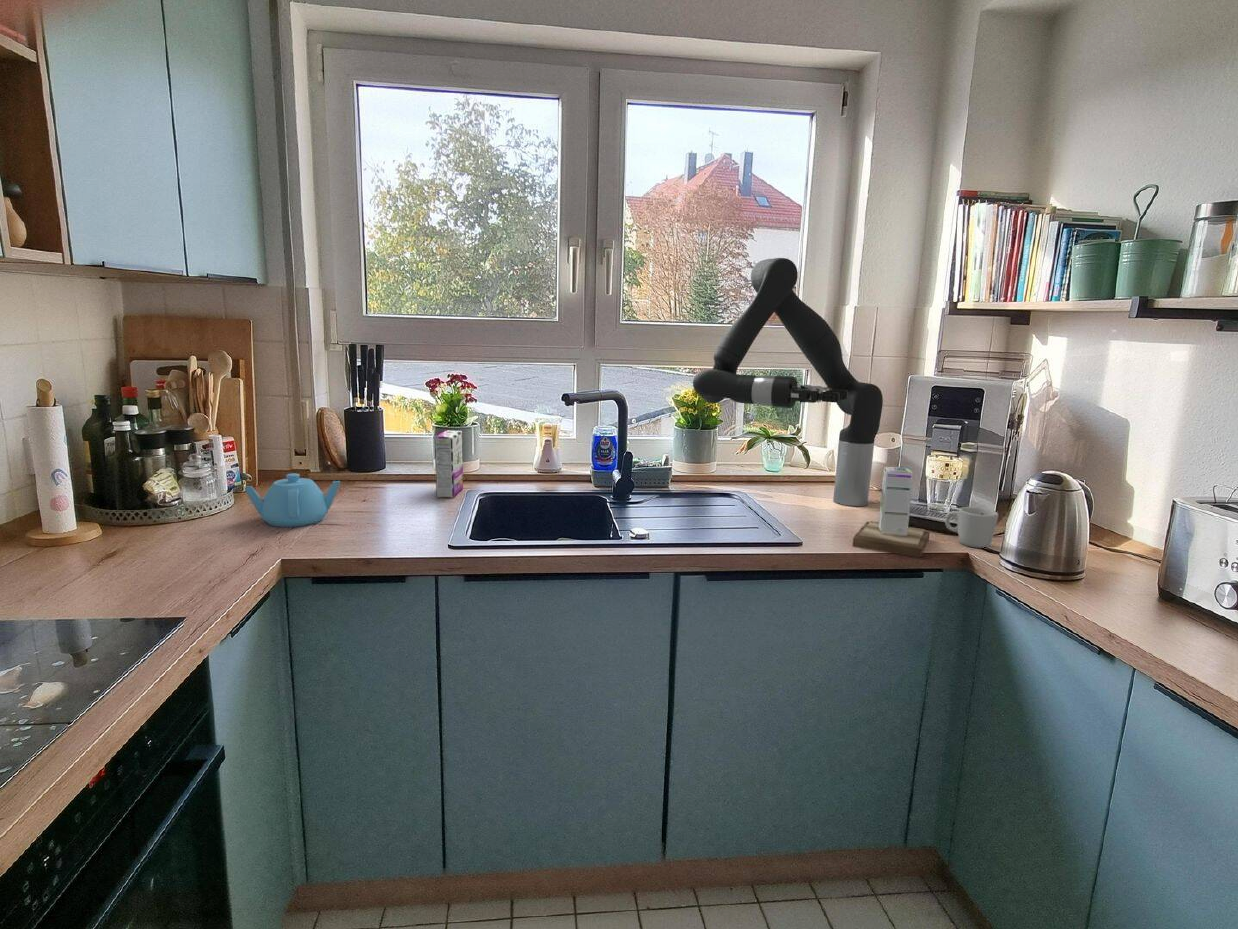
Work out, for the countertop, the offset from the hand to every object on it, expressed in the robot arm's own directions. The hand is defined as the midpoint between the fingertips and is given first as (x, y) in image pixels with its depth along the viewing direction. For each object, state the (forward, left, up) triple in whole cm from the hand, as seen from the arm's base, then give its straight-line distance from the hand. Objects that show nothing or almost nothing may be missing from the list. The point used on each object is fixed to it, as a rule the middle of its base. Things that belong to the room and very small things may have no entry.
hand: (843, 396), depth 163 cm
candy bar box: (+26, -96, -32) cm, 104 cm away
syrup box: (+2, +14, -30) cm, 33 cm away
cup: (-8, +29, -32) cm, 44 cm away
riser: (+2, +14, -32) cm, 35 cm away
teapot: (+66, -106, -32) cm, 129 cm away
